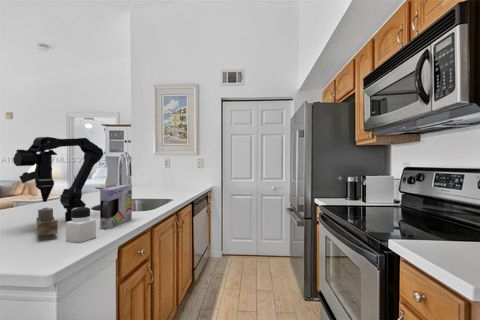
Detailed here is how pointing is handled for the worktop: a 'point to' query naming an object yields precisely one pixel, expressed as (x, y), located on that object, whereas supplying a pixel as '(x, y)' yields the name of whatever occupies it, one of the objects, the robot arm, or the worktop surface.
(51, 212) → the grey block
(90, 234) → the medicine bottle
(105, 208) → the cake pan box
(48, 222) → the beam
